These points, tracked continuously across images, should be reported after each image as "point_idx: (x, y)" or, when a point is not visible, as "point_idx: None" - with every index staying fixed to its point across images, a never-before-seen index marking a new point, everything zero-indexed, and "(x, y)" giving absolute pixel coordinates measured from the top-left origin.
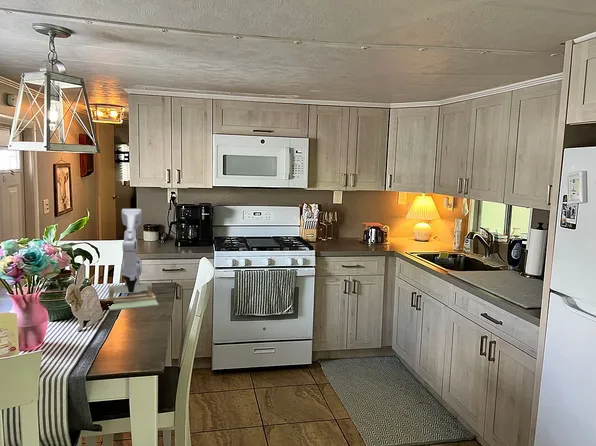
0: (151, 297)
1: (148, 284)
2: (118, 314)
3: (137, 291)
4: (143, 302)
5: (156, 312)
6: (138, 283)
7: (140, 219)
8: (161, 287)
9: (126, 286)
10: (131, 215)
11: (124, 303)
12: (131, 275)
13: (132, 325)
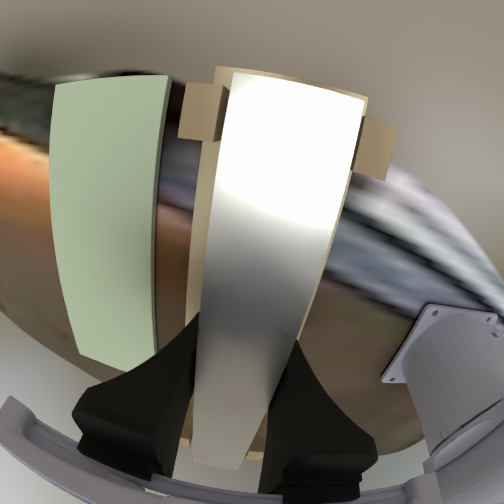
0: None
1: (192, 454)
2: (10, 133)
3: (397, 368)
4: (120, 319)
5: (13, 296)
6: (416, 411)
7: None
8: (377, 437)
9: (197, 343)
10: None
11: (134, 207)
12: (46, 479)
13: None
